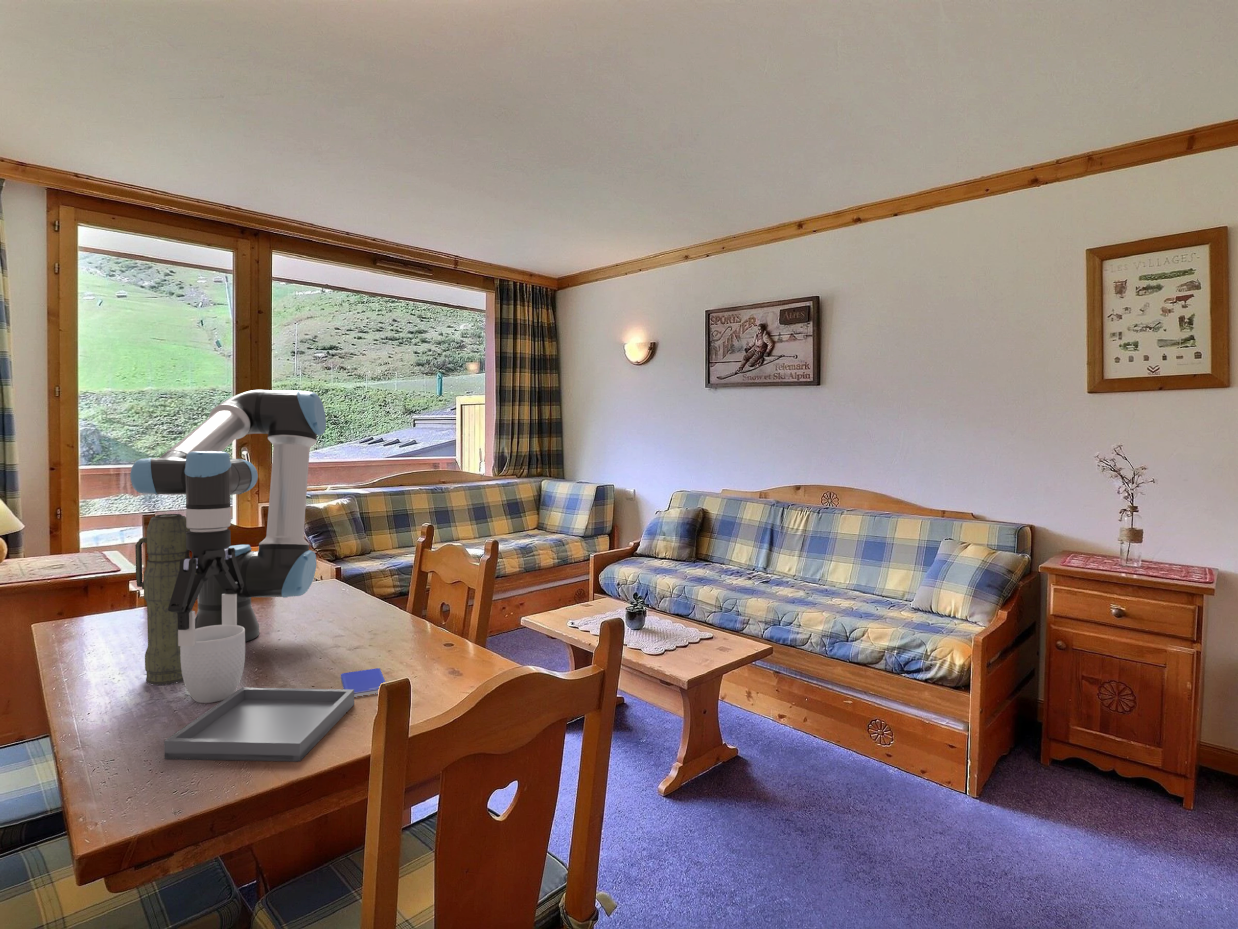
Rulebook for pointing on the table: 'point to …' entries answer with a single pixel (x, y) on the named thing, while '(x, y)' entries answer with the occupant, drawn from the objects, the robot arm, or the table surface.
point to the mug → (214, 662)
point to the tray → (261, 725)
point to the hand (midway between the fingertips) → (209, 635)
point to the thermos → (162, 595)
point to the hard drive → (363, 681)
